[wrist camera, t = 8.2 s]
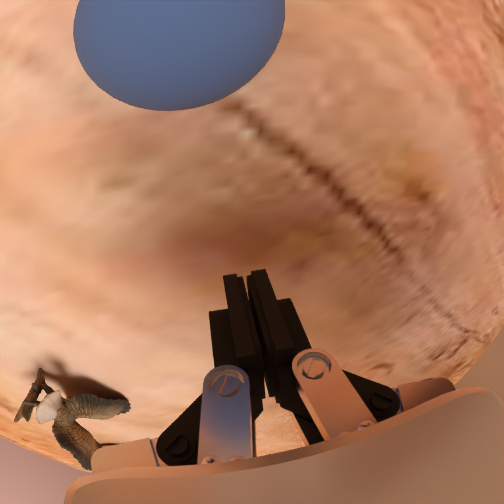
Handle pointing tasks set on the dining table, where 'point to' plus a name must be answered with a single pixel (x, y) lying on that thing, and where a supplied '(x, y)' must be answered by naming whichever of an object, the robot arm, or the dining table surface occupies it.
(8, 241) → the dining table surface
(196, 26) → the ball
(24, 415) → the eagle figurine
